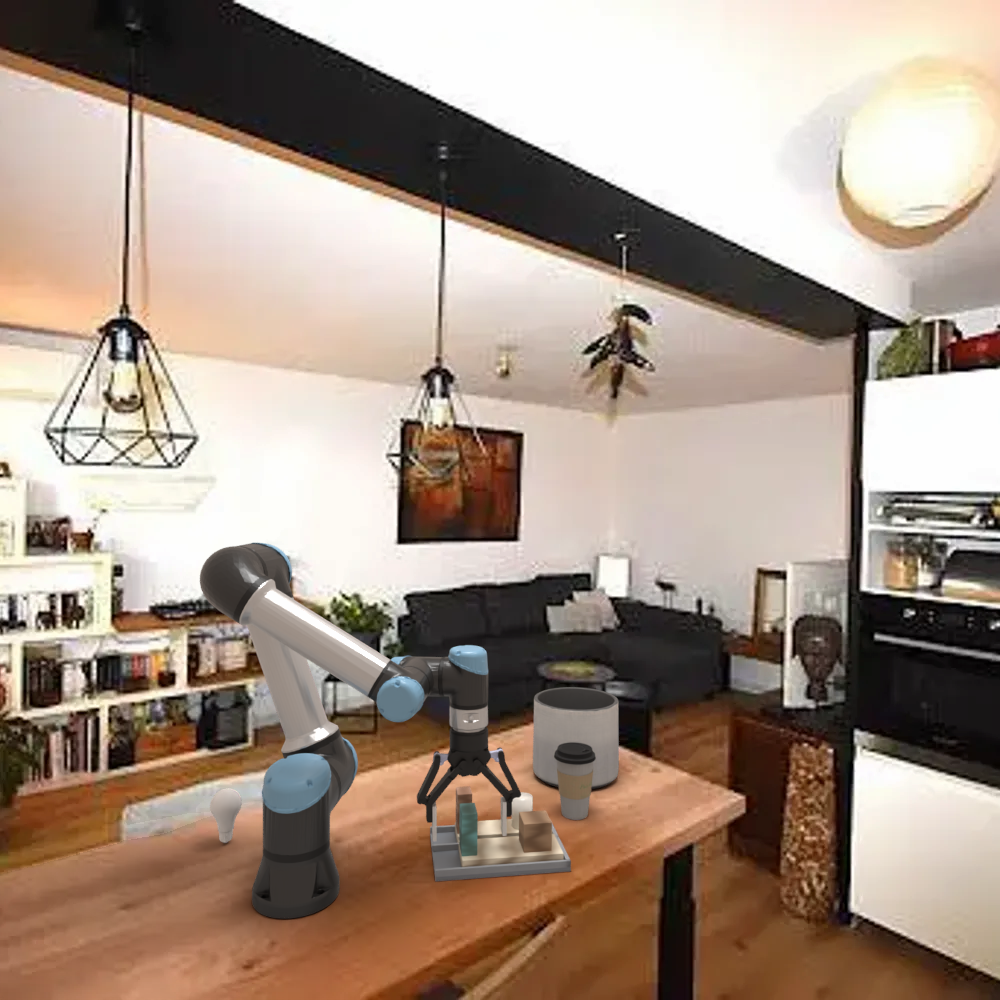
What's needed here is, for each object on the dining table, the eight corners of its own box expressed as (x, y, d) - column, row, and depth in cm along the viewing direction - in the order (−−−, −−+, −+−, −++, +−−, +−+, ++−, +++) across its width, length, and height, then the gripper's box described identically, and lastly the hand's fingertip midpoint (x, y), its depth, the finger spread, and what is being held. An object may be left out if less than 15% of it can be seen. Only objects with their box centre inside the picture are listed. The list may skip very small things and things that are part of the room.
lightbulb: (204, 842, 147) (204, 789, 147) (232, 832, 152) (233, 781, 152) (218, 852, 143) (218, 798, 143) (246, 842, 147) (247, 789, 147)
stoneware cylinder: (513, 830, 147) (513, 801, 147) (510, 821, 151) (510, 792, 151) (534, 829, 147) (534, 800, 147) (530, 819, 152) (530, 791, 152)
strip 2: (462, 871, 135) (462, 818, 135) (458, 849, 143) (458, 800, 143) (563, 863, 138) (563, 812, 137) (553, 843, 146) (554, 794, 146)
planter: (536, 757, 197) (537, 685, 197) (617, 762, 194) (618, 688, 193) (528, 790, 175) (529, 708, 175) (619, 795, 172) (620, 712, 172)
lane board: (435, 881, 133) (435, 870, 133) (430, 835, 151) (430, 826, 151) (570, 871, 137) (570, 860, 137) (550, 828, 155) (550, 818, 154)
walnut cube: (523, 852, 138) (524, 824, 138) (518, 839, 143) (519, 812, 143) (551, 850, 139) (551, 822, 139) (545, 837, 144) (545, 810, 144)
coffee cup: (593, 825, 156) (594, 757, 156) (551, 821, 158) (551, 753, 158) (596, 807, 165) (597, 742, 165) (556, 803, 167) (556, 739, 167)
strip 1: (457, 846, 144) (458, 797, 144) (455, 831, 150) (455, 784, 150) (552, 840, 147) (552, 791, 147) (545, 826, 153) (546, 779, 153)
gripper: (404, 736, 133) (405, 849, 133) (535, 729, 137) (535, 839, 137) (404, 723, 141) (404, 831, 141) (528, 717, 144) (528, 822, 144)
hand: (469, 835), depth 139 cm, fingers open, 13 cm apart
